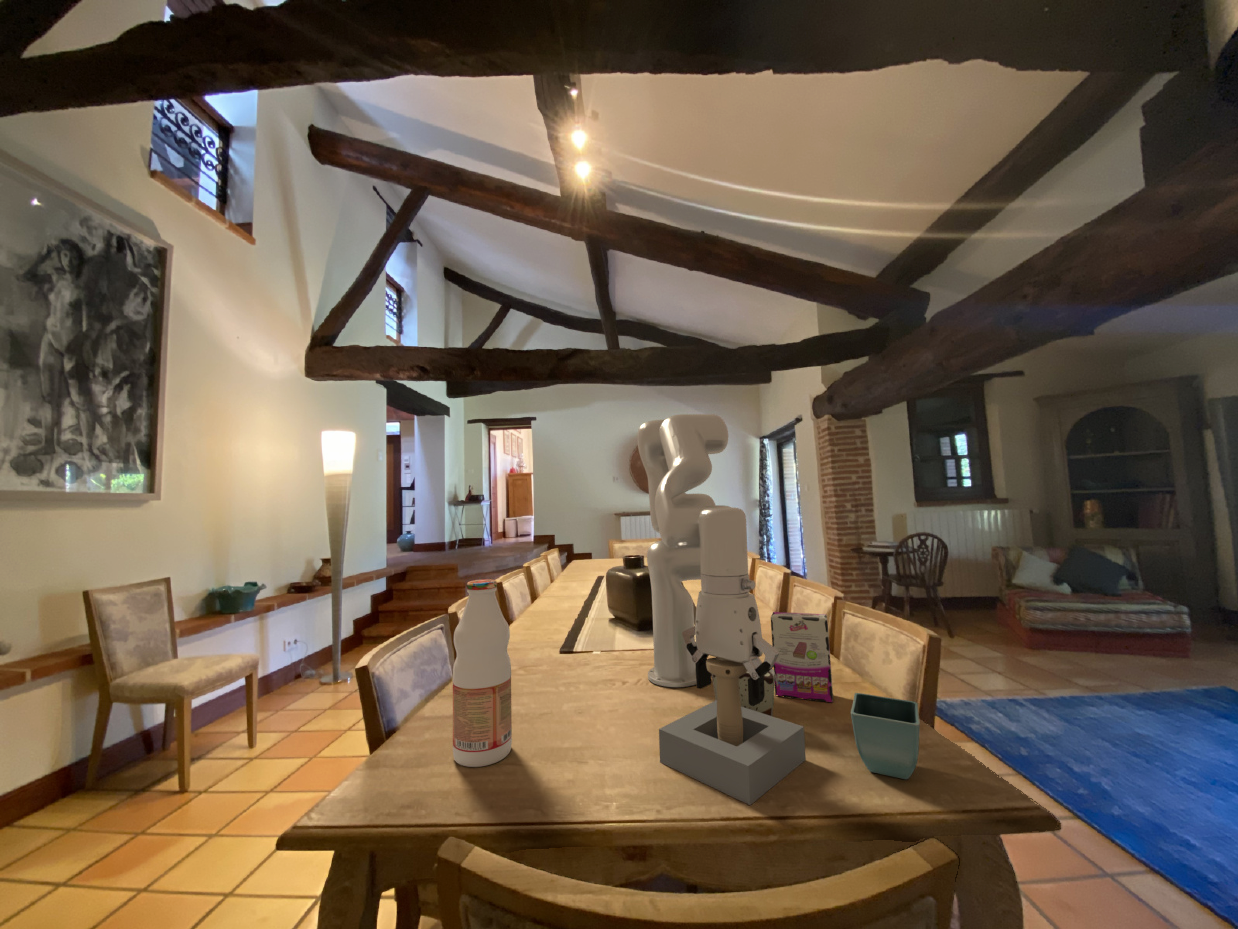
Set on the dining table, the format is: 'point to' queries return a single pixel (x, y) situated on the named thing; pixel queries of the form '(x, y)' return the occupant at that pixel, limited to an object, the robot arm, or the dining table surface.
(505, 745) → the fruit juice
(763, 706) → the food container
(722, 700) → the handle
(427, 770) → the dining table surface
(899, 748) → the flower pot
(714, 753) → the well block
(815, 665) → the candy bar box
